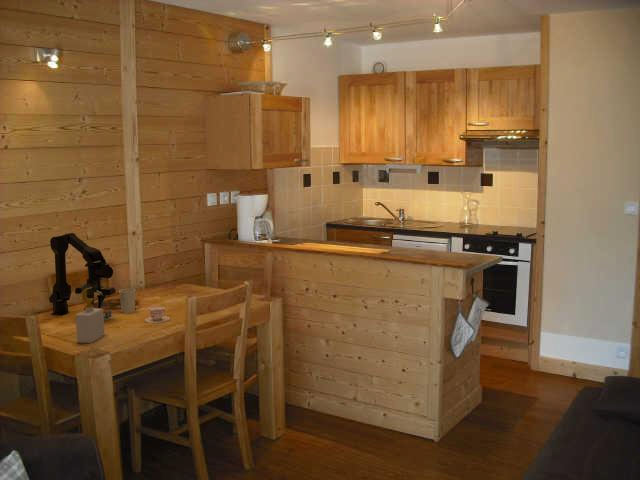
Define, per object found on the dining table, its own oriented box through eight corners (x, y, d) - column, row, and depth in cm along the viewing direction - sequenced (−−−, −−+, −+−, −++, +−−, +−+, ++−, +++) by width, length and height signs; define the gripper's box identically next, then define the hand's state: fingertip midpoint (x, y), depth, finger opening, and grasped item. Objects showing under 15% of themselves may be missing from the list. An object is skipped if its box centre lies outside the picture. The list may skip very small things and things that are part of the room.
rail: (84, 314, 331) (83, 307, 331) (101, 306, 345) (101, 300, 345) (90, 315, 330) (90, 307, 330) (107, 307, 345) (107, 300, 344)
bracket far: (91, 317, 341) (90, 311, 341) (95, 315, 345) (95, 309, 345) (107, 318, 339) (106, 312, 339) (111, 316, 343) (111, 310, 343)
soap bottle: (90, 343, 302) (87, 290, 298) (76, 342, 303) (73, 290, 300) (105, 335, 314) (102, 284, 310) (91, 335, 315) (88, 284, 312)
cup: (132, 315, 348) (130, 292, 346) (117, 315, 349) (116, 291, 347) (139, 311, 355) (138, 288, 353) (124, 311, 357) (123, 288, 355)
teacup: (139, 322, 337) (138, 309, 336) (154, 316, 348) (153, 304, 347) (160, 324, 332) (159, 311, 331) (174, 318, 343) (174, 306, 342)
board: (75, 325, 331) (75, 323, 331) (95, 315, 349) (95, 313, 349) (98, 326, 329) (97, 324, 328) (117, 316, 346) (117, 314, 346)
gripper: (67, 278, 330) (69, 310, 332) (103, 280, 325) (104, 313, 328) (80, 274, 340) (82, 305, 343) (115, 275, 336) (116, 307, 338)
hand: (96, 307), depth 338 cm, fingers closed on rail, 3 cm apart
